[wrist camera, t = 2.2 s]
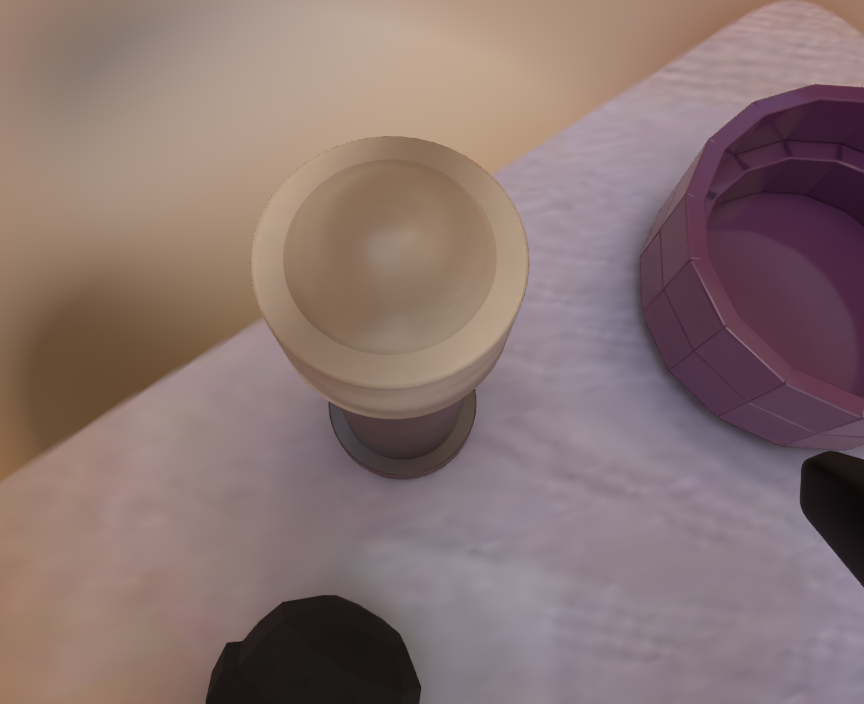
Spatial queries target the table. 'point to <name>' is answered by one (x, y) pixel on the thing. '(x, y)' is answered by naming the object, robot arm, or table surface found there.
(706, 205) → the bowl
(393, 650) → the microphone
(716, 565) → the table surface
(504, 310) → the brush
